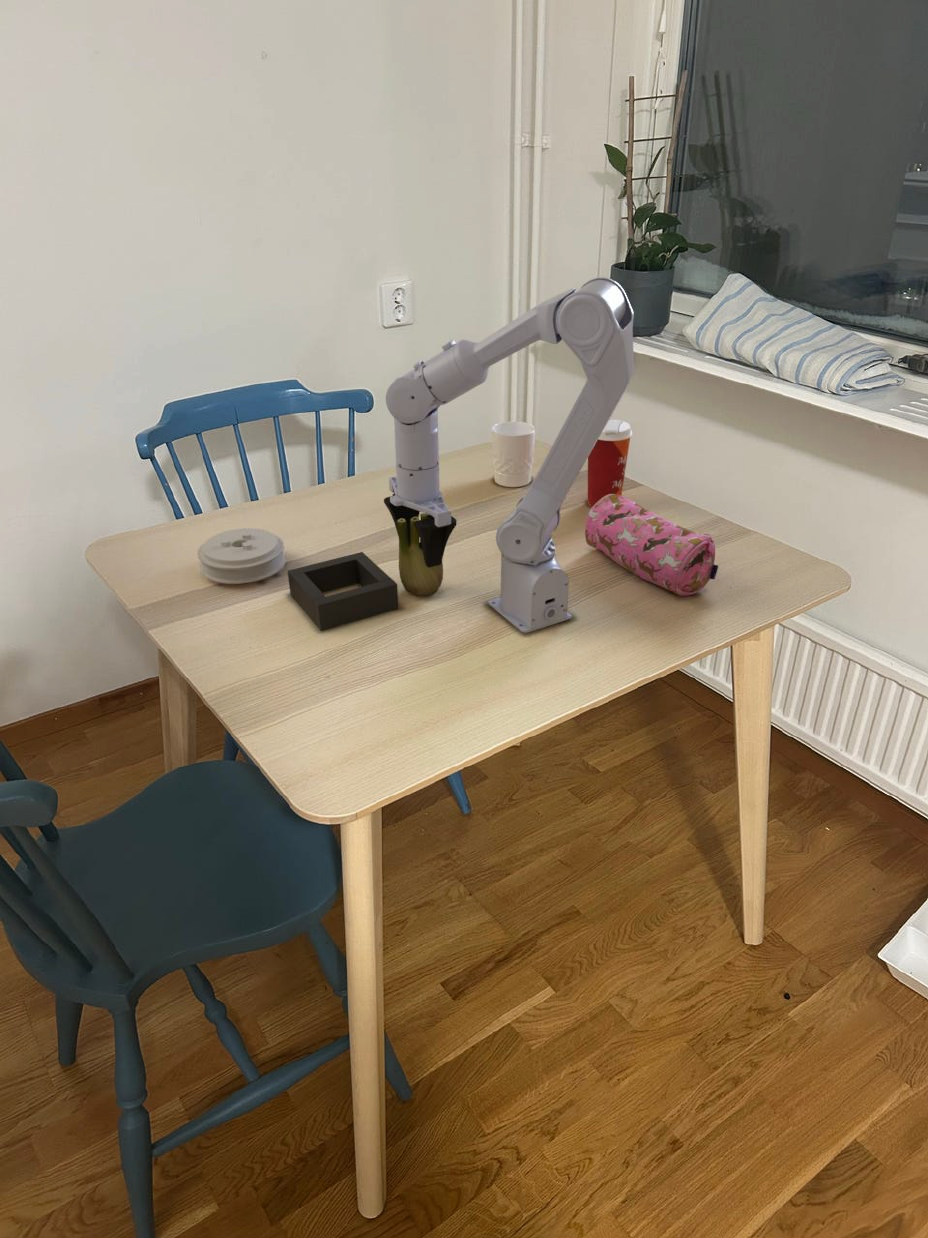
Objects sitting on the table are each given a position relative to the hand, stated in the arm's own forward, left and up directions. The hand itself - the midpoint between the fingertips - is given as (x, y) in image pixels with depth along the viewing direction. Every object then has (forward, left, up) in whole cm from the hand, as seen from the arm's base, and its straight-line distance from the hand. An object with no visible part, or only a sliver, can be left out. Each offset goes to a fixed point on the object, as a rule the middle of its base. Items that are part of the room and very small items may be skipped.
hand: (420, 554), depth 125 cm
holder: (+3, +11, -6) cm, 13 cm away
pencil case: (-11, -32, -6) cm, 34 cm away
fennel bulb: (0, 0, -6) cm, 6 cm away
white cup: (+29, -34, -6) cm, 45 cm away
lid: (+20, +20, -6) cm, 29 cm away
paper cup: (+12, -42, -6) cm, 44 cm away
